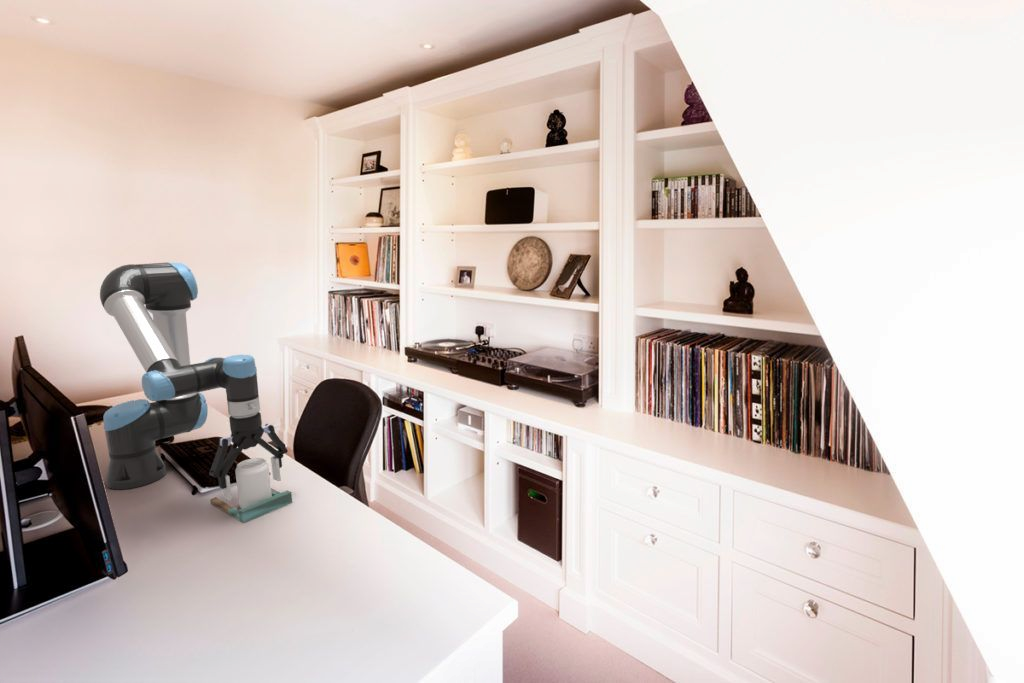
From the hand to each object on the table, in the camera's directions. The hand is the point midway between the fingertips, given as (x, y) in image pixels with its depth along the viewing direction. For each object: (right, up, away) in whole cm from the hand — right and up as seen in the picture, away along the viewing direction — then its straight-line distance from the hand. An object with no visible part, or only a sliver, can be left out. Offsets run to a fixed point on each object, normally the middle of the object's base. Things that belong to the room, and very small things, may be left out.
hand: (253, 488), depth 147 cm
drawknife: (-2, -4, +2) cm, 5 cm away
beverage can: (0, -5, +1) cm, 5 cm away
